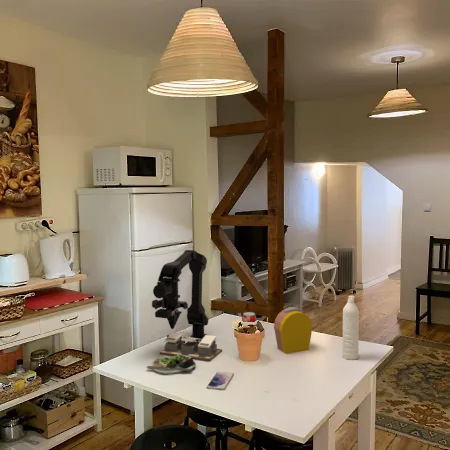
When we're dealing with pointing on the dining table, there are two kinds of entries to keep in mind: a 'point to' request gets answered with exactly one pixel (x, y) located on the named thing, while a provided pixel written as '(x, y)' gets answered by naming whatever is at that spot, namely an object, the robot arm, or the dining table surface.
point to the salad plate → (173, 364)
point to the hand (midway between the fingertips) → (172, 328)
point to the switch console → (191, 350)
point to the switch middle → (189, 339)
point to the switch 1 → (174, 337)
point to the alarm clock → (292, 330)
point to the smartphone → (220, 381)
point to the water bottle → (350, 330)
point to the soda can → (249, 317)
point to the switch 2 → (207, 341)
